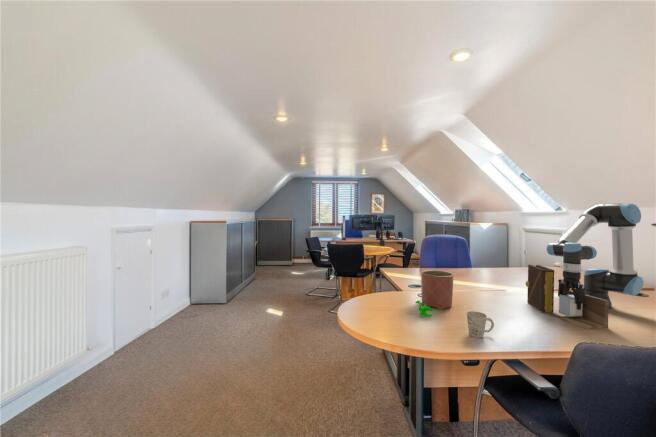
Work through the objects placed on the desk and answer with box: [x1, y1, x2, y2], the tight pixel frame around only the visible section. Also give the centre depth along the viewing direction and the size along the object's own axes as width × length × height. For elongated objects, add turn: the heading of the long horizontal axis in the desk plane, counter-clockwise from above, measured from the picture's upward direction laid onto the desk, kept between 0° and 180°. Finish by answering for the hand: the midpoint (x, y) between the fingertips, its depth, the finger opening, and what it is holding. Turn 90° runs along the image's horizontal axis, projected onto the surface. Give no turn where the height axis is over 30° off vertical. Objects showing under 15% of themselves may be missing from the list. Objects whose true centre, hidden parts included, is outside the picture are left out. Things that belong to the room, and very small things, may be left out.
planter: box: [420, 269, 455, 310], centre depth 183 cm, size 19×19×20 cm
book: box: [525, 264, 555, 314], centre depth 180 cm, size 22×8×25 cm, turn 168°
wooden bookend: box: [551, 289, 610, 330], centre depth 156 cm, size 12×20×14 cm, turn 7°
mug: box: [466, 310, 495, 339], centre depth 137 cm, size 8×13×10 cm, turn 95°
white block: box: [558, 295, 583, 317], centre depth 159 cm, size 8×6×10 cm
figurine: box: [414, 299, 436, 318], centre depth 162 cm, size 6×12×9 cm, turn 98°
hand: (570, 312), depth 159 cm, fingers closed on white block, 6 cm apart
